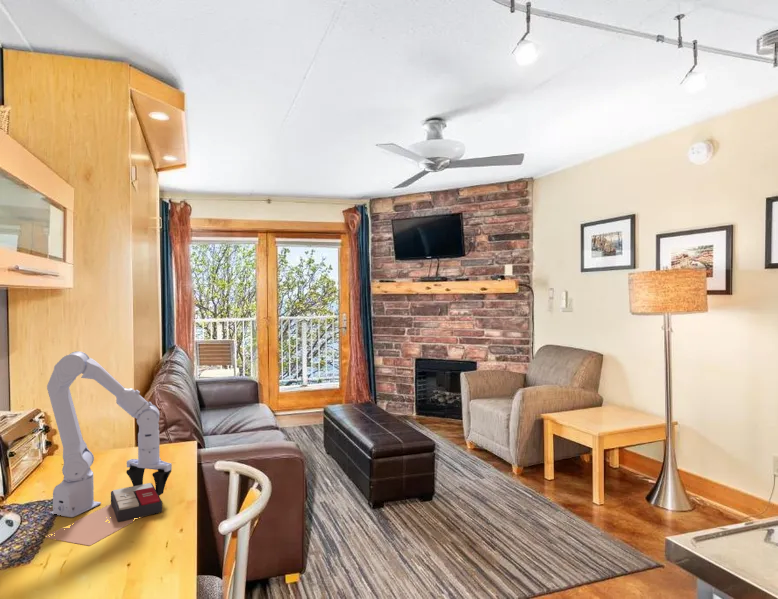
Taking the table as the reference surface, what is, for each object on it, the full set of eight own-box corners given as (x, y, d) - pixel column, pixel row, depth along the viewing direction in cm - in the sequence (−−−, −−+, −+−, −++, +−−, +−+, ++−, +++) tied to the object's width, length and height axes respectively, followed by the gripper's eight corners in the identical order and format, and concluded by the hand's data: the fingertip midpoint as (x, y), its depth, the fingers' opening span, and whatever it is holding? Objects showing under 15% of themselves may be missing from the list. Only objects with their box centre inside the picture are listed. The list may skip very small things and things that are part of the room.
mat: (89, 547, 120) (89, 545, 120) (42, 539, 125) (42, 537, 125) (154, 511, 140) (154, 509, 140) (111, 505, 145) (111, 503, 145)
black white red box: (117, 508, 132) (110, 488, 144) (117, 524, 132) (110, 503, 145) (162, 499, 139) (152, 480, 151) (162, 514, 139) (151, 494, 151)
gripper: (178, 445, 150) (178, 490, 150) (139, 441, 155) (139, 485, 155) (161, 452, 144) (162, 499, 144) (121, 448, 148) (121, 494, 148)
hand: (149, 493), depth 149 cm, fingers open, 7 cm apart
